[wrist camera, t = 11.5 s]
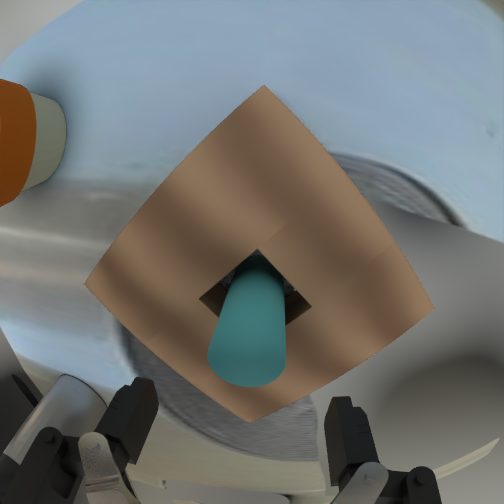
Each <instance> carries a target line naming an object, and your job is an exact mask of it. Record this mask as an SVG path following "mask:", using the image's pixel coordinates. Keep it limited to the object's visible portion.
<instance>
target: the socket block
mask: <svg viewBox="0 0 504 504" xmlns="http://www.w3.org/2000/svg"><path fill="white" fill-rule="evenodd" d="M256 249H258V250H259V251H260V252H261V253H262V254H263V255H264V256H265V257H266V258H267V259H268V260H269V261H270V262H271V263H272V265H273V266H274V267H275V268H276V269H277V270H278V271H279V272H280V273H281V274H282V275H283V276H284V277H285V278H286V279H287V280H288V281H289V283H290V284H291V285H292V286H293V287H294V288H295V289H296V291H294V292H293V293H292V294H291V295H289V296H288V297H287V298H285V299H284V304H285V335H286V365H285V368H284V371H283V372H282V374H281V375H280V376H279V377H278V378H277V379H276V380H274V381H272V382H271V383H268V384H266V385H263V386H258V387H243V386H237V385H234V384H231V383H229V382H227V381H225V380H223V379H222V378H220V377H219V376H218V375H216V373H215V372H214V371H213V370H212V368H211V367H210V365H209V362H208V358H207V353H208V349H209V346H210V343H211V340H212V337H213V334H214V331H215V328H216V325H217V322H218V319H219V316H220V314H221V311H222V308H223V305H224V302H225V299H226V296H227V293H228V292H227V291H226V290H225V289H224V288H223V287H222V286H221V285H220V284H219V283H218V282H219V281H220V280H221V279H222V278H223V277H225V276H226V275H227V274H228V273H229V272H231V271H232V270H233V269H234V268H235V267H236V266H238V265H239V264H240V263H241V262H242V261H243V260H245V259H246V258H247V257H248V256H249V255H251V254H252V253H253V252H254V251H255V250H256ZM84 285H85V286H86V287H87V288H88V289H89V290H90V292H91V293H92V294H93V295H94V296H95V297H96V298H97V299H98V300H99V301H100V302H101V303H102V304H103V305H104V306H105V307H106V308H107V309H108V310H109V311H110V312H111V313H112V314H113V315H114V316H115V317H116V318H117V319H118V320H119V321H120V322H121V323H122V324H123V325H124V326H125V327H126V328H127V329H128V330H129V331H130V332H131V333H132V334H133V335H134V336H136V337H137V338H138V339H139V340H140V341H141V342H142V343H143V344H144V345H145V346H147V347H148V348H149V349H150V350H151V351H152V352H153V353H155V354H156V355H157V356H158V357H159V358H160V359H162V360H163V361H164V362H165V363H166V364H168V365H169V366H170V367H171V368H173V369H174V370H175V371H176V372H178V373H179V374H180V375H181V376H183V377H184V378H185V379H186V380H188V381H189V382H190V383H192V384H193V385H194V386H196V387H197V388H198V389H200V390H201V391H202V392H204V393H205V394H206V395H208V396H209V397H211V398H212V399H213V400H215V401H216V402H218V403H219V404H221V405H222V406H223V407H225V408H226V409H228V410H229V411H231V412H232V413H234V414H235V415H237V416H238V417H240V418H242V419H243V420H245V421H246V422H248V423H250V422H253V421H255V420H257V419H259V418H262V417H264V416H266V415H268V414H270V413H273V412H275V411H277V410H279V409H281V408H283V407H285V406H287V405H289V404H291V403H293V402H295V401H297V400H299V399H301V398H303V397H305V396H306V395H308V394H310V393H312V392H314V391H315V390H317V389H319V388H321V387H323V386H324V385H326V384H328V383H330V382H331V381H333V380H335V379H337V378H338V377H340V376H341V375H343V374H344V373H346V372H348V371H350V370H351V369H353V368H354V367H356V366H357V365H359V364H360V363H362V362H364V361H365V360H367V359H368V358H370V357H371V356H373V355H374V354H376V353H377V352H378V351H380V350H381V349H383V348H384V347H386V346H387V345H388V344H390V343H391V342H392V341H394V340H395V339H397V338H398V337H399V336H400V335H402V334H403V333H405V332H406V331H407V330H408V329H410V328H411V327H412V326H414V325H415V324H416V323H417V322H419V321H420V320H421V319H422V318H423V317H424V316H426V315H427V314H428V313H429V312H431V311H432V310H433V309H434V306H433V304H432V302H431V300H430V299H429V297H428V295H427V293H426V291H425V289H424V288H423V286H422V284H421V282H420V281H419V279H418V277H417V276H416V274H415V272H414V271H413V269H412V267H411V266H410V264H409V262H408V261H407V259H406V258H405V256H404V254H403V253H402V251H401V250H400V248H399V247H398V245H397V244H396V242H395V240H394V239H393V237H392V236H391V234H390V233H389V231H388V230H387V229H386V227H385V226H384V224H383V223H382V221H381V220H380V218H379V217H378V215H377V214H376V213H375V211H374V210H373V208H372V207H371V206H370V204H369V203H368V202H367V200H366V199H365V198H364V196H363V195H362V194H361V192H360V191H359V190H358V188H357V187H356V186H355V184H354V183H353V182H352V181H351V179H350V178H349V177H348V176H347V174H346V173H345V172H344V171H343V169H342V168H341V167H340V166H339V164H338V163H337V162H336V161H335V160H334V158H333V157H332V156H331V155H330V154H329V153H328V151H327V150H326V149H325V148H324V147H323V146H322V144H321V143H320V142H319V141H318V140H317V139H316V138H315V137H314V135H313V134H312V133H311V132H310V131H309V130H308V129H307V128H306V127H305V126H304V124H303V123H302V122H301V121H300V120H299V119H298V118H297V117H296V116H295V115H294V114H293V113H292V112H291V111H290V110H289V109H288V108H287V107H286V106H285V105H284V104H283V103H282V102H281V101H280V100H279V99H278V98H277V97H276V96H275V95H274V94H273V93H272V92H271V91H270V90H269V89H268V88H267V87H266V86H265V85H263V86H262V87H261V88H260V89H258V90H257V91H256V92H255V93H254V94H252V95H251V96H250V97H249V98H248V99H247V100H246V101H244V102H243V103H242V104H241V105H240V106H239V107H238V108H236V109H235V110H234V111H233V112H232V113H231V114H230V115H229V116H228V117H227V118H226V119H224V120H223V121H222V122H221V123H220V124H219V125H218V126H217V127H216V128H215V129H214V130H213V131H212V132H211V133H210V134H209V135H208V136H207V137H206V138H205V139H204V140H203V141H202V142H201V143H200V144H199V145H198V146H197V147H196V148H195V149H194V150H193V151H192V152H191V153H190V154H189V155H188V156H187V157H186V158H185V159H184V160H183V161H182V162H181V163H180V164H179V165H178V166H177V167H176V168H175V170H174V171H173V172H172V173H171V174H170V175H169V176H168V177H167V178H166V179H165V180H164V182H163V183H162V184H161V185H160V186H159V187H158V188H157V189H156V191H155V192H154V193H153V194H152V195H151V196H150V198H149V199H148V200H147V201H146V202H145V203H144V205H143V206H142V207H141V208H140V209H139V211H138V212H137V213H136V214H135V215H134V217H133V218H132V219H131V220H130V222H129V223H128V224H127V225H126V227H125V228H124V229H123V230H122V232H121V233H120V234H119V236H118V237H117V238H116V240H115V241H114V242H113V243H112V245H111V246H110V247H109V249H108V250H107V252H106V253H105V254H104V256H103V257H102V258H101V260H100V261H99V263H98V264H97V265H96V267H95V268H94V270H93V271H92V272H91V274H90V275H89V277H88V278H87V280H86V281H85V283H84Z"/></svg>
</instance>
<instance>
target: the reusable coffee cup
mask: <svg viewBox="0 0 504 504" xmlns="http://www.w3.org/2000/svg"><path fill="white" fill-rule="evenodd" d="M65 143H66V120H65V116H64V113H63V111H62V108H61V107H60V105H59V104H58V103H57V102H56V101H54V100H52V99H49V98H46V97H43V96H40V95H37V94H33V93H30V92H29V91H28V90H27V89H26V88H25V87H24V86H22V85H20V84H16V83H13V82H10V81H6V80H3V79H0V207H1V206H3V205H5V204H7V203H9V202H11V201H13V200H14V199H15V198H16V197H17V196H18V195H19V193H20V192H22V191H24V190H26V189H28V188H30V187H33V186H35V185H37V184H39V183H42V182H44V181H46V180H47V179H48V178H50V177H51V176H52V175H53V173H54V172H55V171H56V169H57V167H58V166H59V164H60V161H61V159H62V156H63V152H64V149H65Z"/></svg>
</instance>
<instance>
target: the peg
mask: <svg viewBox="0 0 504 504" xmlns="http://www.w3.org/2000/svg"><path fill="white" fill-rule="evenodd" d="M207 358H208V362H209V365H210V367H211V368H212V370H213V371H214V372H215V373H216V375H218V376H219V377H220V378H222V379H223V380H225V381H227V382H229V383H231V384H234V385H237V386H243V387H258V386H263V385H266V384H268V383H271V382H272V381H274V380H276V379H277V378H278V377H279V376H280V375H281V374H282V372H283V371H284V368H285V365H286V335H285V304H284V279H283V275H282V274H281V273H280V272H279V271H278V270H277V269H276V268H275V267H274V266H273V265H272V263H271V262H270V261H269V260H268V259H267V258H266V257H265V256H260V255H256V256H251V257H248V258H246V259H245V260H243V261H242V262H241V263H240V264H239V265H238V266H237V268H236V270H235V273H234V276H233V279H232V282H231V285H230V287H229V290H228V293H227V296H226V299H225V302H224V305H223V308H222V311H221V314H220V316H219V319H218V322H217V325H216V328H215V331H214V334H213V337H212V340H211V343H210V346H209V349H208V353H207Z"/></svg>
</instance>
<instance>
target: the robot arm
mask: <svg viewBox="0 0 504 504" xmlns="http://www.w3.org/2000/svg"><path fill="white" fill-rule="evenodd" d="M158 406H159V402H158V398H157V394H156V390H155V386H154V382H153V381H152V380H150V379H145V378H141V377H136V378H135V379H134V381H133V382H132V384H131V386H128V385H124V386H123V387H122V388H121V389H119V390H118V391H117V392H116V394H115V396H114V397H113V400H112V401H111V402H110V404H109V407H108V408H107V407H106V405H105V404H104V402H103V401H102V399H101V398H100V397H99V396H98V395H97V394H96V393H95V392H94V391H93V390H92V389H91V388H90V387H88V386H87V385H86V384H84V383H83V382H81V381H80V380H78V379H76V378H74V377H71V376H68V375H62V376H60V377H59V379H58V380H57V381H56V382H55V383H54V385H53V386H52V387H51V388H50V390H49V391H48V392H47V393H46V395H45V396H44V397H43V398H42V400H41V401H40V402H39V404H38V405H37V406H36V408H35V409H34V410H33V412H32V413H31V414H30V416H29V417H28V418H27V420H26V421H25V422H24V424H23V425H22V427H21V428H20V429H19V431H18V432H17V434H16V435H15V436H14V438H13V439H12V441H11V442H10V444H9V445H8V447H7V448H6V450H5V451H4V454H2V456H1V457H0V504H73V502H74V499H75V496H76V494H77V491H78V489H79V486H80V484H81V481H82V479H83V476H85V477H86V480H87V485H86V486H85V490H86V494H87V498H88V500H89V504H141V502H140V501H139V499H138V497H137V494H136V492H135V490H134V488H133V485H132V483H131V481H130V478H129V476H128V473H127V471H126V469H125V468H126V466H127V463H131V464H135V465H136V463H137V460H138V458H139V455H140V453H141V450H142V448H143V445H144V443H145V440H146V438H147V436H148V433H149V431H150V428H151V426H152V424H153V421H154V419H155V416H156V414H157V411H158ZM324 430H325V438H326V446H327V453H328V463H329V472H330V481H331V486H339V493H338V494H337V496H336V497H335V498H334V499H333V501H332V502H331V503H330V504H442V502H441V498H440V494H439V489H438V486H437V482H436V478H435V474H434V472H433V471H432V470H431V469H429V468H427V467H424V466H420V467H416V468H414V469H412V470H411V471H410V472H400V471H391V470H388V469H386V467H385V466H383V465H382V464H380V462H379V460H378V456H377V452H376V448H375V444H374V440H373V437H372V433H371V429H370V426H369V422H368V418H367V415H366V414H365V412H364V411H363V410H362V409H361V407H353V405H352V402H351V398H350V397H349V396H345V397H344V396H343V397H333V398H332V399H331V402H330V405H329V408H328V411H327V413H326V416H325V422H324Z"/></svg>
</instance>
